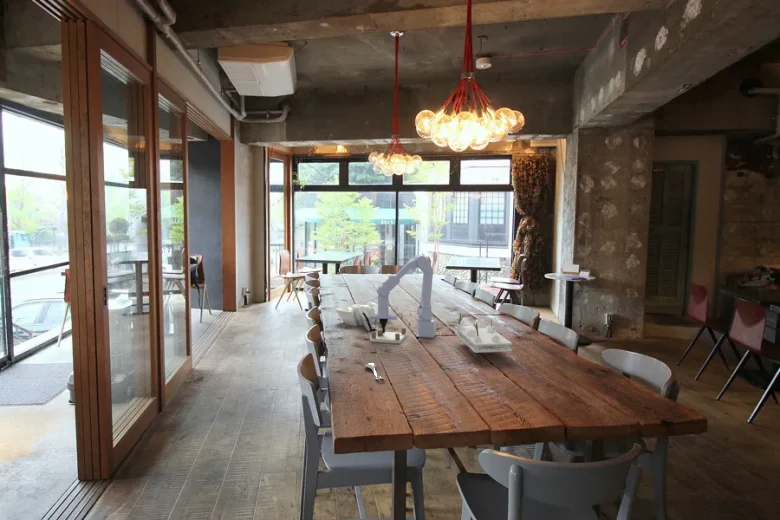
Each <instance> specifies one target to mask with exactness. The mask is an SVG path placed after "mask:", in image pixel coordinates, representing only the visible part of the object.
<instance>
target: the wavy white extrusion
mask: <svg viewBox="0 0 780 520" xmlns="http://www.w3.org/2000/svg"><path fill="white" fill-rule="evenodd" d="M391 309H392V307H390V306H389V314H390V313H391ZM335 311H336V313H337V314H338V316H339V317H340V319H341V321H342V322H343V323H344V324H345V325H347V326H354V327H358V326H364V325H363V323H362V320H361V318H360V315H359V314H360V313H363V312H367V314H368V315H369V317H370V315H378V303H375V302H366V304H356V303H355V304H353V305H351V307H350V306H348V307H345V310H344V309H341V308H340V307H339V308H338V307H337V308H335ZM371 322H372V324H373V325H375V323H376V324H380V322H379V319H371Z"/></svg>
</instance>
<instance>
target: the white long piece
mask: <svg viewBox="0 0 780 520" xmlns="http://www.w3.org/2000/svg"><path fill="white" fill-rule="evenodd" d="M376 366H377V364H376V363H374V362H368V363H367V364H365V365H364V367H365V368H369V369H371V370H372V372H373V375H375V376H374V378H375V380H382V379H385V377H383V376H379V375H378V374H377V371H376Z"/></svg>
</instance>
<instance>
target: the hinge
mask: <svg viewBox="0 0 780 520" xmlns="http://www.w3.org/2000/svg"><path fill="white" fill-rule="evenodd" d="M359 315H360V318H361V320H362V323H363V325H362V326H364V328H365V329H366V330H367V331H368V332H370V331H371V330H375V331H377V327H376V326H375V324H372V322H371V319H370V317H369V315H368V314H367V312H363V313H360V314H359Z"/></svg>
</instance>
